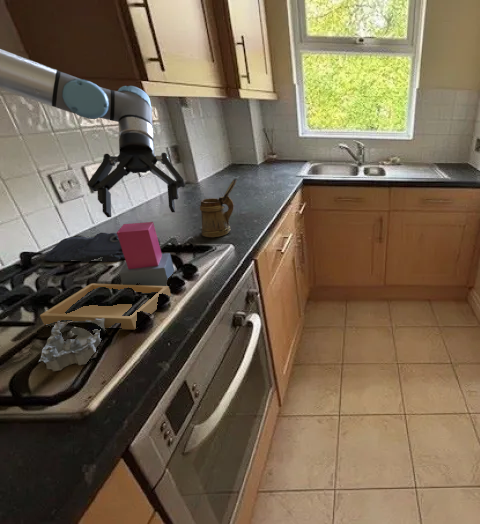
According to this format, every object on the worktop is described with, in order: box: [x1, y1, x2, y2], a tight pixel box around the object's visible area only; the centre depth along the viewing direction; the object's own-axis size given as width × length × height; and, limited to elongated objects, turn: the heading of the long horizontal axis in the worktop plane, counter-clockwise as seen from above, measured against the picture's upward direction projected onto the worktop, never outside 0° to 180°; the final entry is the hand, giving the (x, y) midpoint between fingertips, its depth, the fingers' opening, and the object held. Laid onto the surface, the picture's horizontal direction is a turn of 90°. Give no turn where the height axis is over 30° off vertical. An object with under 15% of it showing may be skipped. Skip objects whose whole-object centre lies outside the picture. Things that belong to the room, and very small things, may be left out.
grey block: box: [118, 252, 175, 286], centre depth 80 cm, size 9×9×5 cm
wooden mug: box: [199, 178, 238, 238], centre depth 109 cm, size 9×14×18 cm, turn 110°
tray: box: [39, 283, 172, 331], centre depth 69 cm, size 18×13×3 cm
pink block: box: [116, 221, 163, 269], centre depth 77 cm, size 6×6×9 cm
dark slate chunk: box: [43, 232, 125, 263], centre depth 95 cm, size 15×22×5 cm
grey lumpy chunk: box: [38, 318, 107, 372], centre depth 58 cm, size 11×8×4 cm
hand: (140, 212), depth 80 cm, fingers open, 13 cm apart
